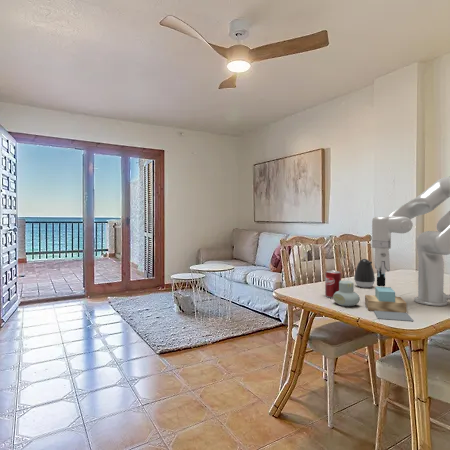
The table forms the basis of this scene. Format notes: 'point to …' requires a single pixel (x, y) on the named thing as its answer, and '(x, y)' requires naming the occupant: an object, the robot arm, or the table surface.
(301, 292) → the table surface
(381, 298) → the teal box
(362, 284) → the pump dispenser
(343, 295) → the air freshener
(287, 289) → the table surface
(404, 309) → the oak deck
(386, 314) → the grey mat
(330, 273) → the soda can
